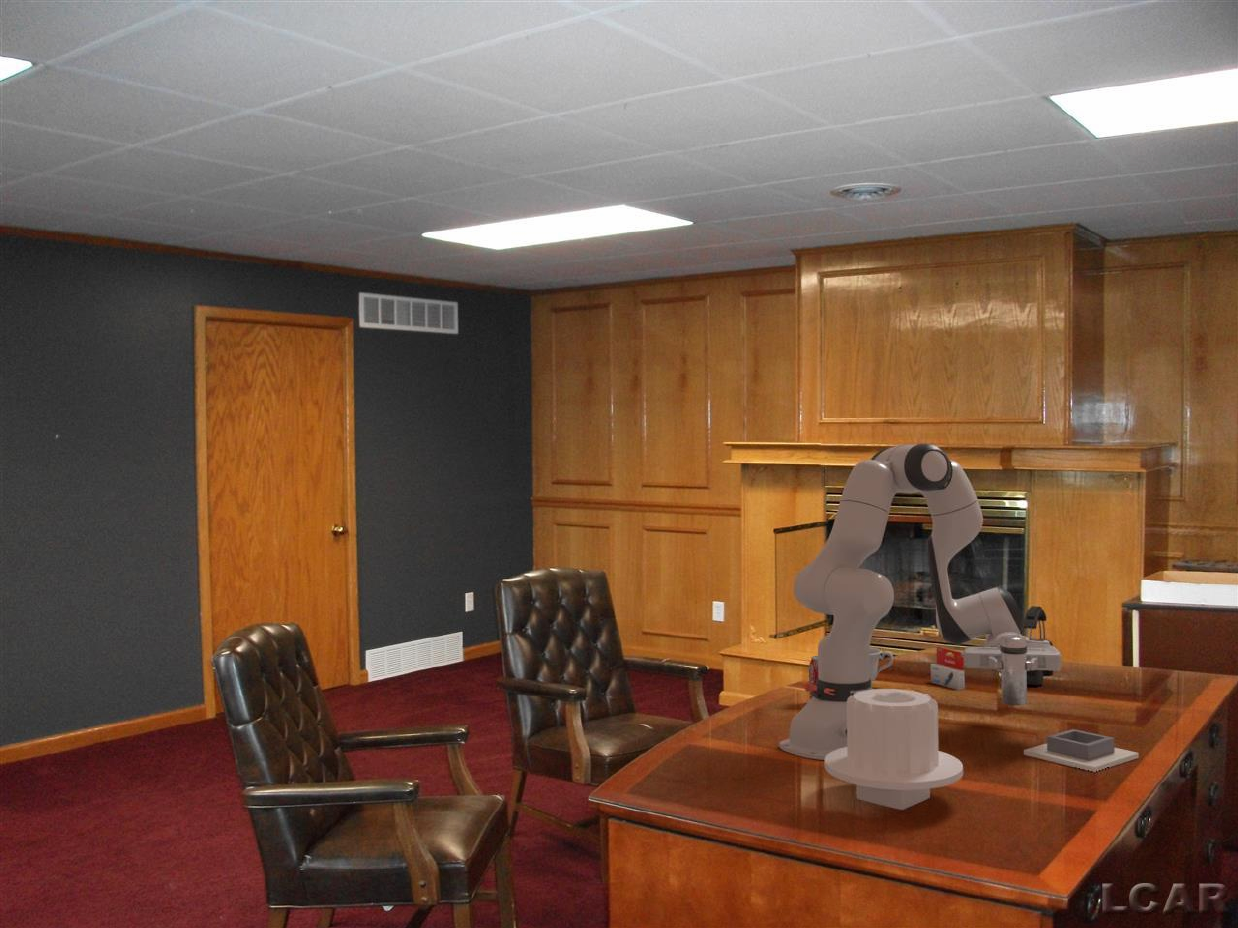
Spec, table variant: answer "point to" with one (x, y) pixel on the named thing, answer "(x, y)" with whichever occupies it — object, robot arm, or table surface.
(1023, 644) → the capped metal cylinder
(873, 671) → the teacup
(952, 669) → the ink cartridge box
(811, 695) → the soda can
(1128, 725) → the table surface
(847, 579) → the robot arm
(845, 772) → the flanged gear
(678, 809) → the table surface
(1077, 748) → the socket mount
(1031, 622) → the headphones
